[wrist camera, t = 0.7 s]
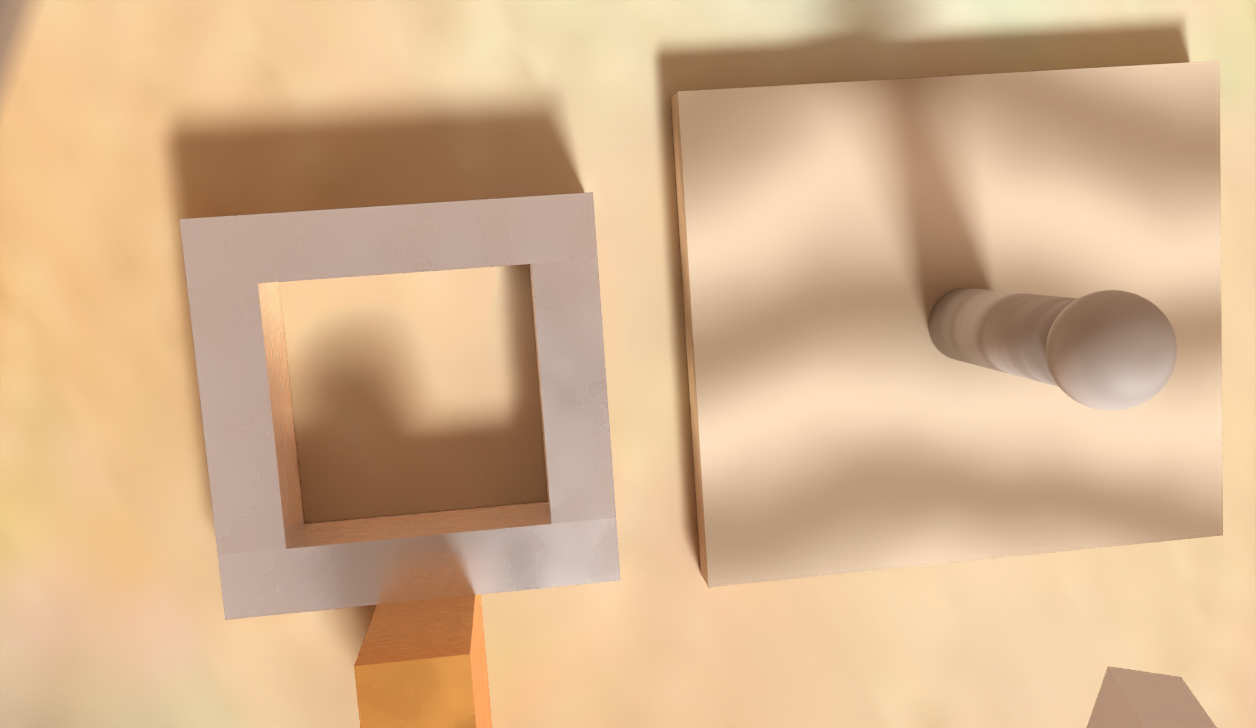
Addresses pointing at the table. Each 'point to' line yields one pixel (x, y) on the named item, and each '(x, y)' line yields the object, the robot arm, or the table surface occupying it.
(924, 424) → the board
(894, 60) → the table surface
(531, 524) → the square frame with handle
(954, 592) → the table surface
